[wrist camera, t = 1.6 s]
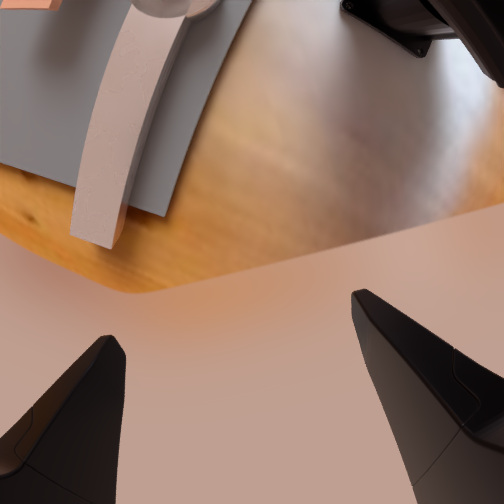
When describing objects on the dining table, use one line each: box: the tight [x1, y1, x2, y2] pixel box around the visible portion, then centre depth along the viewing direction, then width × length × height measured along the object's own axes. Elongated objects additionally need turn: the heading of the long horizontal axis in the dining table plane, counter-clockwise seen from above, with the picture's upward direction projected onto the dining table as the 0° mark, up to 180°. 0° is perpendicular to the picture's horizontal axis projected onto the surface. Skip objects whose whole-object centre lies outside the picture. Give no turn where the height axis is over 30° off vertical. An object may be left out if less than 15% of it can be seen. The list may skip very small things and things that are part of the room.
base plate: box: [0, 0, 253, 217], centre depth 13 cm, size 21×20×1 cm
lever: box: [70, 0, 221, 249], centre depth 14 cm, size 18×5×3 cm, turn 157°
